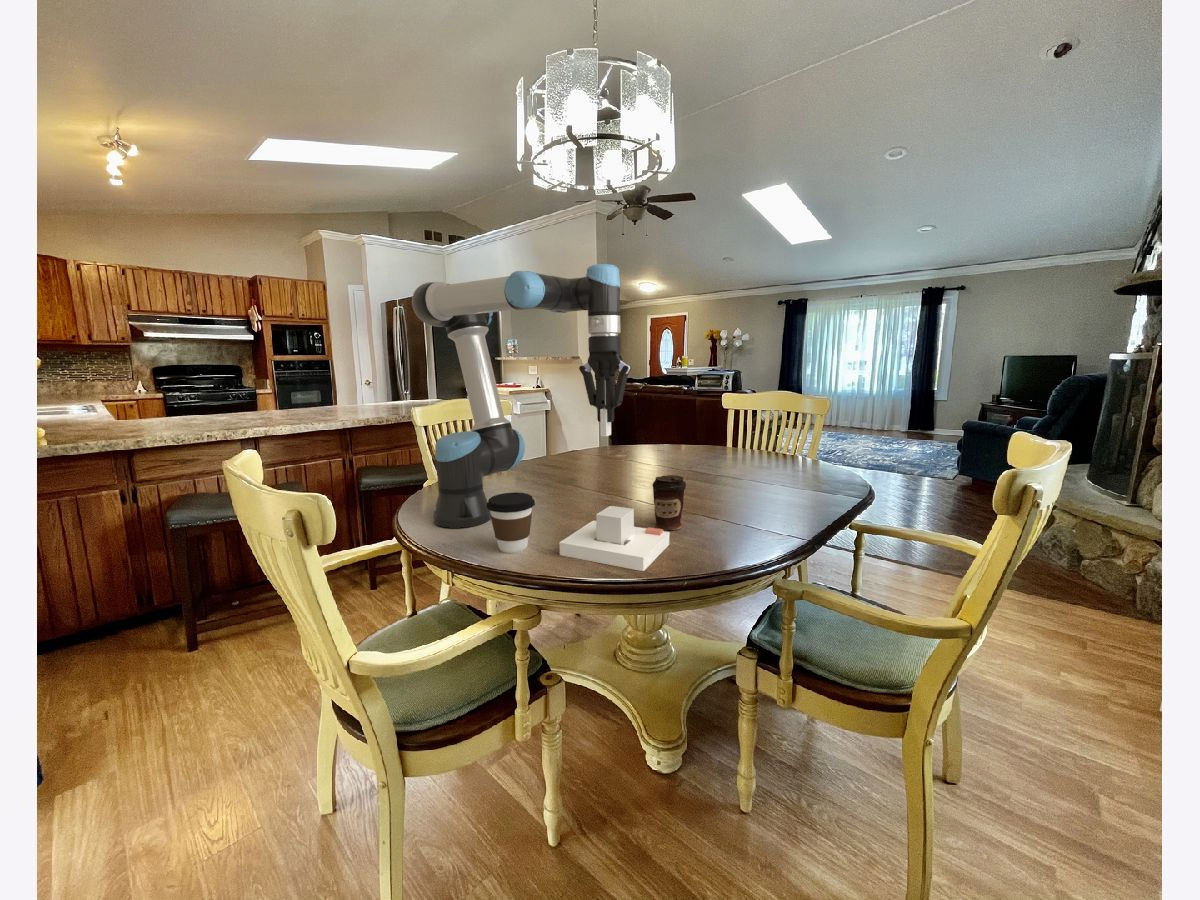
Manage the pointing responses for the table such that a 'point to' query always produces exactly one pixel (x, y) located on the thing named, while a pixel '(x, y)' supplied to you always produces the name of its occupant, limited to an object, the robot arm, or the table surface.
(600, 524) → the plug
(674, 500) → the coffee cup
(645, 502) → the table surface
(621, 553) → the socket plate
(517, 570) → the table surface
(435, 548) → the table surface
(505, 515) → the coffee cup
